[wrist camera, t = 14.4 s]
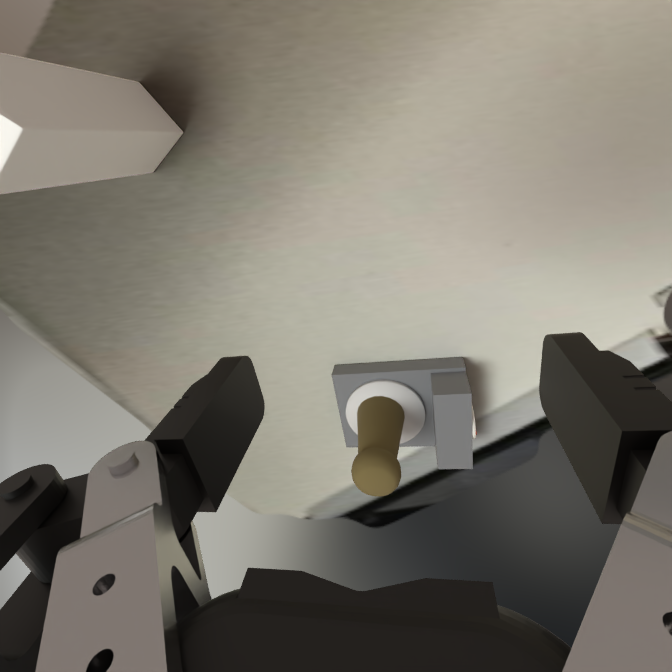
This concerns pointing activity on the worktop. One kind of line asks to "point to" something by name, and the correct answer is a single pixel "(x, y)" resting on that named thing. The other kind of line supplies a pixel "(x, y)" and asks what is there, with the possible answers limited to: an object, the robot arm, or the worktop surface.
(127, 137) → the milk
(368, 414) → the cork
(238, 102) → the worktop surface
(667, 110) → the worktop surface
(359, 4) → the worktop surface
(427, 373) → the knob on square plate
